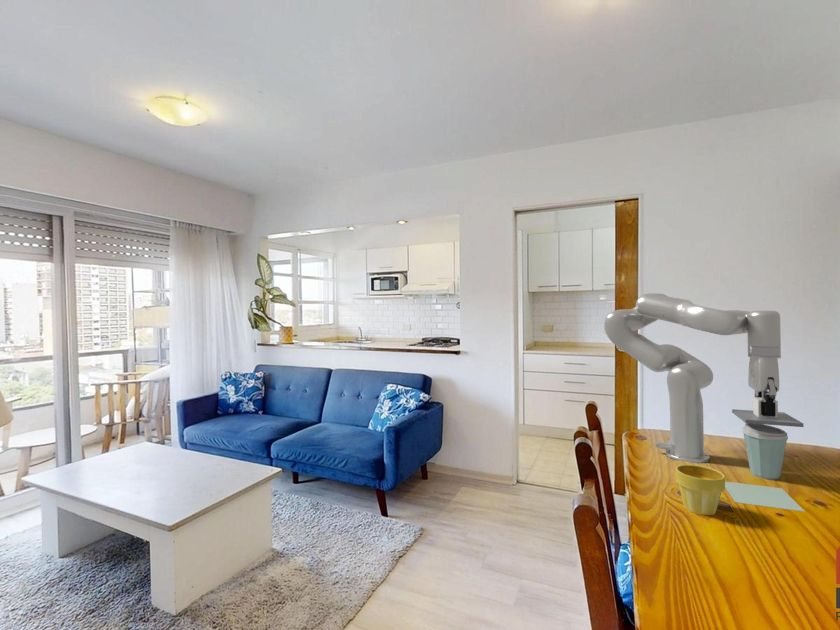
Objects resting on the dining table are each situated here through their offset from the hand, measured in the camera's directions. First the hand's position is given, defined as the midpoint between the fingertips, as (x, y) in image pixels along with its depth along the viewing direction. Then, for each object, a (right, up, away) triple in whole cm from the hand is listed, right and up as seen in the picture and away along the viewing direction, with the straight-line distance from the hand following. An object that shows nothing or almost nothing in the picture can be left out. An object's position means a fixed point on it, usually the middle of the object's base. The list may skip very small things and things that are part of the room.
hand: (764, 413), depth 122 cm
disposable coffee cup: (0, -19, 0) cm, 19 cm away
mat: (-11, -19, -12) cm, 26 cm away
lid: (0, -2, 0) cm, 2 cm away
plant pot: (-32, -20, -18) cm, 42 cm away
